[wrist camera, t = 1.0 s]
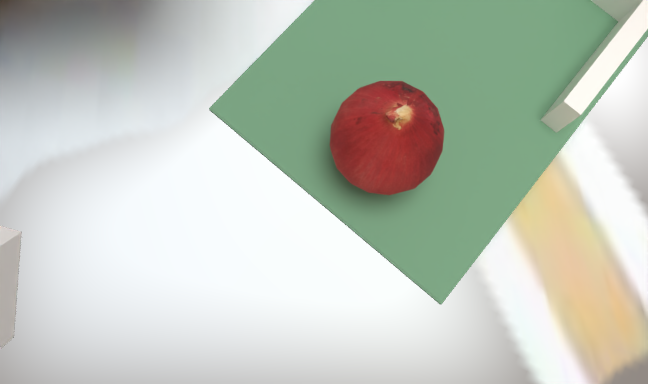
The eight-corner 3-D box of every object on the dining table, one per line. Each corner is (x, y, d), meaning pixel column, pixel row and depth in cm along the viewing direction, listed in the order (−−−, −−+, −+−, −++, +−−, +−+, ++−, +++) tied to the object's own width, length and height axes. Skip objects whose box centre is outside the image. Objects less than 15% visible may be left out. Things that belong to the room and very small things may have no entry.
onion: (351, 94, 36) (374, 27, 29) (439, 138, 36) (487, 83, 29) (306, 179, 35) (318, 133, 27) (398, 225, 35) (436, 192, 27)
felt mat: (209, 110, 36) (209, 108, 35) (447, -134, 41) (448, -137, 41) (440, 304, 34) (441, 304, 34) (655, 25, 40) (658, 23, 39)
